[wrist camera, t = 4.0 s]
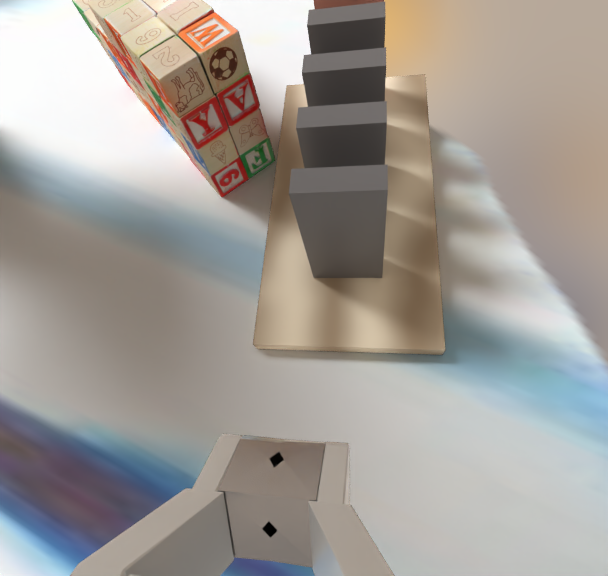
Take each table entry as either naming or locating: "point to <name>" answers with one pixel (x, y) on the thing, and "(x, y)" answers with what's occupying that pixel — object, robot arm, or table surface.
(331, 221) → the domino
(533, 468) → the table surface
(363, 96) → the domino
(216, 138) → the stack of blocks
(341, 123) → the domino
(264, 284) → the domino board
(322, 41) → the domino
